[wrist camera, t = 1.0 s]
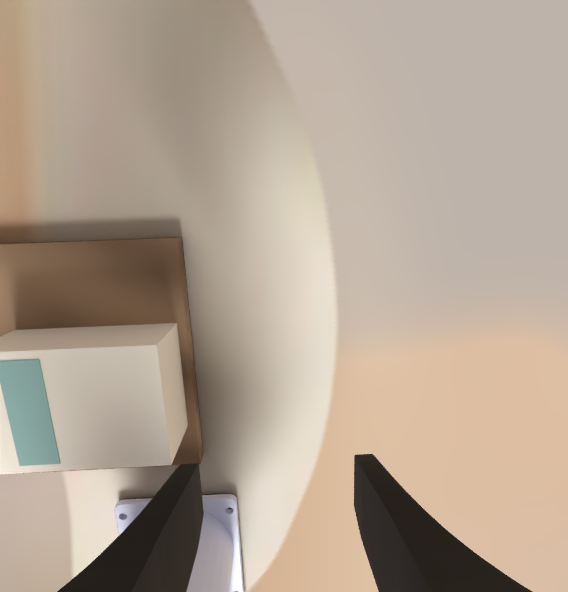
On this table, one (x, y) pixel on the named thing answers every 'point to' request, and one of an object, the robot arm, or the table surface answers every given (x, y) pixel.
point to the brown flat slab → (104, 298)
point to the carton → (90, 398)
